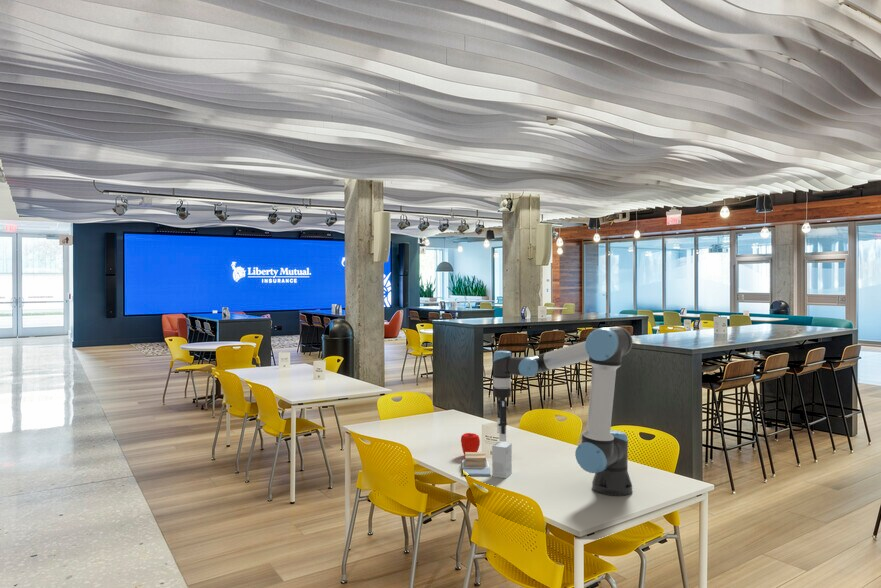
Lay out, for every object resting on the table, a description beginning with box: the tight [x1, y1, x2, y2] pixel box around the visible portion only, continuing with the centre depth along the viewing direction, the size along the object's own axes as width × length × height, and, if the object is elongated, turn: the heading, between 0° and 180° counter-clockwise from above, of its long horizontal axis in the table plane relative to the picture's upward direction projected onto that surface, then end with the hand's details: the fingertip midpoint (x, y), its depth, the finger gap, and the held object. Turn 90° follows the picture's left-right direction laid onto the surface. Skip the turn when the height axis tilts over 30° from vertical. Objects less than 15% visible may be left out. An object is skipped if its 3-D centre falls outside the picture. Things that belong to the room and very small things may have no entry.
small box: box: [491, 441, 513, 479], centre depth 248 cm, size 8×6×13 cm
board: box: [461, 459, 491, 477], centre depth 257 cm, size 20×12×1 cm, turn 178°
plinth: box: [464, 451, 487, 467], centre depth 261 cm, size 9×9×4 cm
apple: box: [460, 432, 481, 456], centre depth 277 cm, size 9×9×11 cm
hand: (501, 437), depth 248 cm, fingers open, 13 cm apart
